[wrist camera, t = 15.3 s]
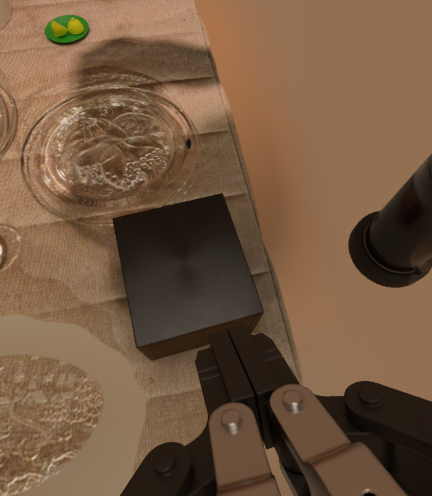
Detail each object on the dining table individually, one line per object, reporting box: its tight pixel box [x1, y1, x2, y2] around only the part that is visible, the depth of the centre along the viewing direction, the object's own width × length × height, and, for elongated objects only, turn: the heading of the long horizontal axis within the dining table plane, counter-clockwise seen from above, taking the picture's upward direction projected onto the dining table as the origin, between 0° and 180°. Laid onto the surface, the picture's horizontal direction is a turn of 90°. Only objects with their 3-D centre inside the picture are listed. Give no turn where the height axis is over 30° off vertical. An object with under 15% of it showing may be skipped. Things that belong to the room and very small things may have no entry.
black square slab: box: [113, 193, 264, 349], centre depth 37 cm, size 15×13×1 cm
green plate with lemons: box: [45, 15, 89, 43], centre depth 65 cm, size 8×8×3 cm
